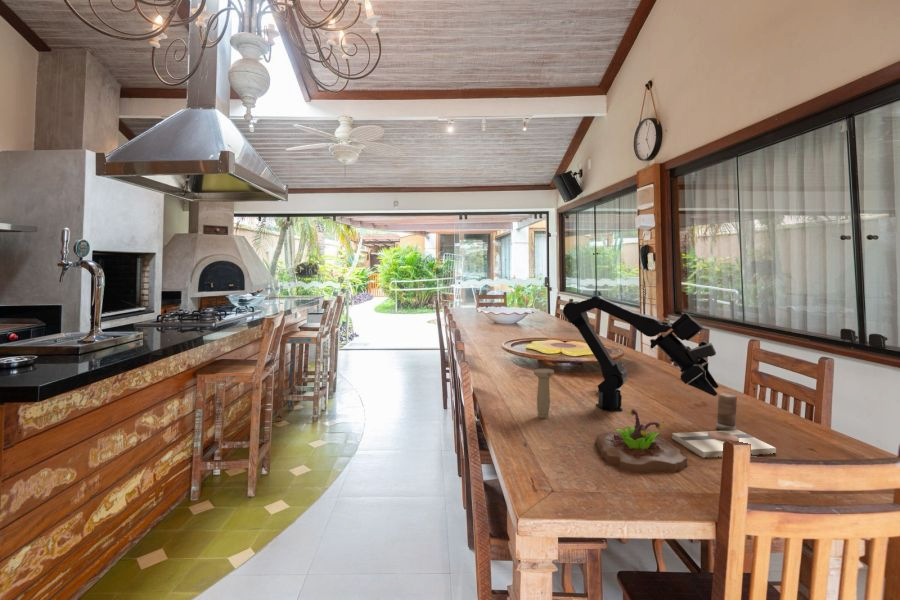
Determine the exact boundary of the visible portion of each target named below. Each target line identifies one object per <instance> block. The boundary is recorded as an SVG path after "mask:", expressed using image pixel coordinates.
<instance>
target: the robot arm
mask: <svg viewBox="0 0 900 600" xmlns="http://www.w3.org/2000/svg"><path fill="white" fill-rule="evenodd" d="M594 309H597V310H600V311H602V312H604V313H605V314H608V315H610V316H613V317H615V318H617V319H619V320H621V321H623V322H625V323H627V324H629V325H631V326H632V327H634V328H635V329H636V330H637V331H638V332H640V333H641V334H642V335H645V336H646V337H650V338H651V339H650V340H649V342H650V345H649V346H650V349H652V350H653V349H654V348H655V347H658V348H659V349H660V350H661V351H662V352H663V353H664V354H665V355H666V356H668V358H669V361H670V362H671V363H674V364H675V365H676V366H677V367H678V368H679V369H680V370H679V371H680V380H681V381H682V382H683V383H684V385H687V386H691V387H693V388H696V389H698V390H699V391H702V392H704V393H707V394H709V395H711V396H713V397H716V396H717V395H718V392H717V391H716V390H715V389H718V388H720V386H719V384H718V383H717V381H716V380H715V378H714V377H713V375H712V373H710V370H709V361H708V357H714V356H716V355H717V351H716V349H715V347H714V345H713V343H712V342H709V343H708V342H707V341H706V340H702V341H700V342H699V343H698V346H696V347H694V348H691V347H690V346H687V345H685V344H684V343H683V342H682V341H687V342H688V341H690V340H691V339H693V338H694V337H695V336H696V335H698V334H699V333H700V332H702V331H703V330H704V329H705V328H704V327H703V325H702V324H701V323H700V322H699V321H698V320H697V319H696V318H695V319H694V317H692V316H691V315H689V313H687V312H684V313H683V314H681V316H680V317H679V318H678V319H677V320H675V321H674V322H673V323H672V322H667V321H662V320H661V319H660V318H659V317H656V316H653V315H649V314H645V313H640V312H636V311H633V310H631V309H629V308H627V307H624V306H622V305H621V304H618V303H615V302H613V301H611V300H608V299H606V298H604V297H603V295H602V296H601V295H596V296H595V295H594V296H592V297H590V298H588V299H585V300H582V301H578V300H577V301H576V300H575V301H571V302H568V303H566V304H565V305H564V307H563V309H562V314H563V315H564V317H565V318H566V319H567V321H569V323H570V324H572V326H574V327H575V328H576V329H577V330H578V331H579V333H580V334H581V336H582V339H584V342H585V343H586V345H587V346H588V348H589V349H590V351H591V353H592V354H593V356H594V358H595V359H596V361H597V363H598V364H599V366H600V372H601V375H602V377H603V380H602V381H601V382H600V383H599V384H598V385H597V389H598V395H597V396H598V397H597V398H598V400H597V402H598V403H595V405H596V407H597V408H599V409H600V410H602V411H604V412H615V411H617V412H618V411H621V412H623V408H622V400H623V399H622V395H623V394H622V393H621V392H622V390H621V391H620V390H618V389H619V388H620V387H621V388H622V387H623V385H624V384H625V383H626V381H627V379H628V374H627V372H628V370H627V369H626V368H625V367H624V364H623V363H622V361H621V360H618V361H617V362H616V361H615V359H613V358H612V357H611V355H610V353H609V352H608V350H607V349H606V347H605V345H604V344H603V342H602V341H601V339H600V338H599V336H598V335H597V333H596V331H595V330H594V327H593V326H592V325H591V322H590V320H589V315H588V311H591V310H594ZM669 331H670V332H669ZM660 333H661V334H660ZM663 333H667V334H666V335H665V334H663ZM658 335H659V336H658ZM656 336H657V337H656ZM653 337H655V338H653Z"/></svg>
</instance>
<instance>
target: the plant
mask: <svg viewBox="0 0 900 600" xmlns="http://www.w3.org/2000/svg"><path fill="white" fill-rule="evenodd" d="M629 414H630V415H631V416H635V424H634V425H632V426H631V428H629V427H627V426H625V427H624V430H623V429H621V428H616V430H617V431H613V432H609V433H608V432H606V433H599V434H598V433H597V434H596V439H595V440H596V441H595V444H596V445H597V447H598V451H599V453H600V458H602V459H604V460H605V462H606V463H608V464H610V465H616V466H618V467H619V470H622V471H626V472H629V471H630V473H636V474H638V473H639V474H641V473H650V472H669V471H670V472H669V473H676V472H678V471H677V470H679V471H681V469H682V470H683V469H684V468H686V467H687V466H688V457H686V456H684V455H683V454H682V451H681V449H680V448H678V447H676V446H675V445H673V444H671V443H670V442H668V441H667V440H666V439H664V438H662V437H660V436H658V435H659V432H657V431H653V432H649V433H647V429H648V428H649V427H650V426H652V425H655V427H656V429H657V430H662V428H663V426H662V424H660V422H656V421H650V422H648V423H646V424H645V425H644V424H643V423H641V421H640V418H639V415H638V411H637V410H636V409H631V410H630V411H629Z"/></svg>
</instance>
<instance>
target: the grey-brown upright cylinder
mask: <svg viewBox="0 0 900 600" xmlns="http://www.w3.org/2000/svg"><path fill="white" fill-rule="evenodd" d="M737 403H738V396H736V395H734V394H729V393H718V401H717V416H716V418H717V421H716V429H718V431H729V430H737V424H736V422H737Z"/></svg>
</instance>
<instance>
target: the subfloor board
mask: <svg viewBox="0 0 900 600" xmlns="http://www.w3.org/2000/svg"><path fill="white" fill-rule="evenodd" d="M671 435H672V436H671V439H673V440H674V441H675V442H678V443H679V444H680V445H683V447H685V448H687V449H688V450H690V451H692V452H693V453H694V454H696V455H698V456H700V457H701V458H704V459H705V457H707V458H722V451H723V443H724V442H725V441H727V440H732V441H739V442H743V443H748V444H751V454H752V455H751V456H760V455H759V454H763V455H765V454H764V453H767V454H766V455H774V454H773V453H776V454H777V447H775V446H773V445H771V444H769V443H766V442H765V441H762V440H760V439H758V438H757V437H754V436H752V435H750V434H748V433H745V432H744V431H741V430H739V429H736V430H729V431H721V430H713V431H712V430H711V431H693V432H692V431H689V432H687V431H686V432H672V433H671ZM770 453H771V454H770ZM718 456H719V457H718Z"/></svg>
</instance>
